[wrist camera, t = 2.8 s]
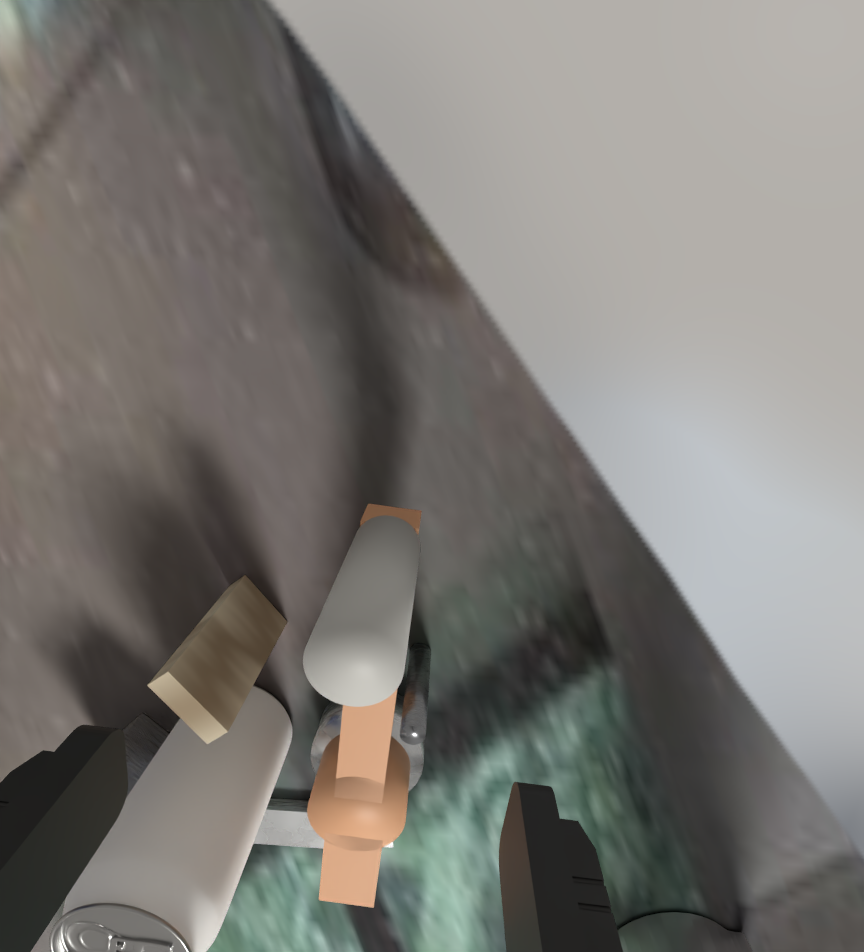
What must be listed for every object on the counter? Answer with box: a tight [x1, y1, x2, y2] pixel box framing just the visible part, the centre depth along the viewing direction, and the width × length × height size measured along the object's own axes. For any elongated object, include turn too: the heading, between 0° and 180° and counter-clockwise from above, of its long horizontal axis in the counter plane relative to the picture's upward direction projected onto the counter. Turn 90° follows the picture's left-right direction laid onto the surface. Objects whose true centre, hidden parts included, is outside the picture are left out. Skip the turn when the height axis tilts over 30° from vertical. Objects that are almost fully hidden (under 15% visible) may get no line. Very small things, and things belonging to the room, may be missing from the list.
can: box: [49, 685, 292, 952], centre depth 25 cm, size 6×6×12 cm
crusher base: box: [122, 643, 431, 848], centre depth 28 cm, size 20×15×7 cm
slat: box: [147, 575, 287, 744], centre depth 25 cm, size 4×1×8 cm, turn 36°
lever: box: [303, 504, 421, 908], centre depth 22 cm, size 23×5×10 cm, turn 173°
